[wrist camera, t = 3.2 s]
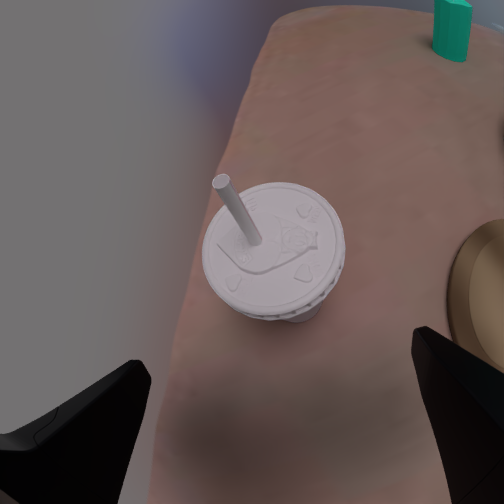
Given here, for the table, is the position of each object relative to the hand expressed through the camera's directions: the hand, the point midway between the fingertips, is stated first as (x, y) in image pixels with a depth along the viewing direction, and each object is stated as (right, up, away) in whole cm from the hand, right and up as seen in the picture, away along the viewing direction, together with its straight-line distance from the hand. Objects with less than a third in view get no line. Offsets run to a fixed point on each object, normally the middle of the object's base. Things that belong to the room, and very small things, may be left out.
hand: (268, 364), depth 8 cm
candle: (+30, +34, +20) cm, 50 cm away
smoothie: (+3, 0, +13) cm, 13 cm away
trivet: (+20, -1, +7) cm, 22 cm away
